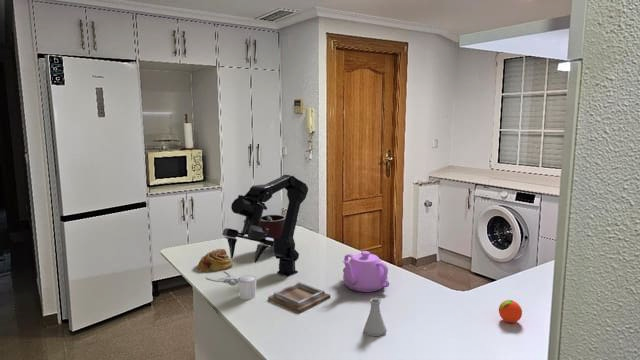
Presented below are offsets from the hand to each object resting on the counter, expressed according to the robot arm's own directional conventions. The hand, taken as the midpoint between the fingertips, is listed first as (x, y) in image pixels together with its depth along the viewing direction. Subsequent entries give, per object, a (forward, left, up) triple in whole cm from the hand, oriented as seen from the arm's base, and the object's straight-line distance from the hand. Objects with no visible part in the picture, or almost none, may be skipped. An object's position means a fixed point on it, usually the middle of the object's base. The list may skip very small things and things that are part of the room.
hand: (243, 260), depth 159 cm
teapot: (-34, +29, -14) cm, 47 cm away
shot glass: (0, +2, -14) cm, 14 cm away
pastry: (-11, -35, -14) cm, 39 cm away
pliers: (-5, -18, -14) cm, 24 cm away
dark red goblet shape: (-40, -29, -14) cm, 52 cm away
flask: (-10, +52, -14) cm, 54 cm away
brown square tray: (-11, +18, -14) cm, 25 cm away
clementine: (-43, +81, -14) cm, 92 cm away
